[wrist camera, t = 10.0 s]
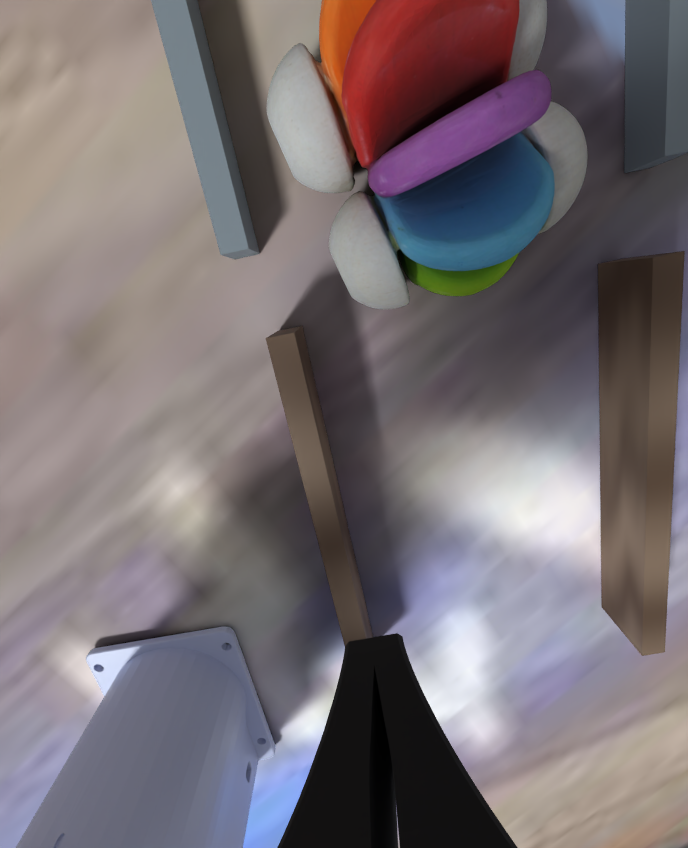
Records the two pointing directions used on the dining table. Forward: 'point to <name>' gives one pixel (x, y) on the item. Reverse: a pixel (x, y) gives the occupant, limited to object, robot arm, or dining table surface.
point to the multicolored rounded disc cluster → (429, 140)
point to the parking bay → (215, 157)
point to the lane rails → (619, 449)
